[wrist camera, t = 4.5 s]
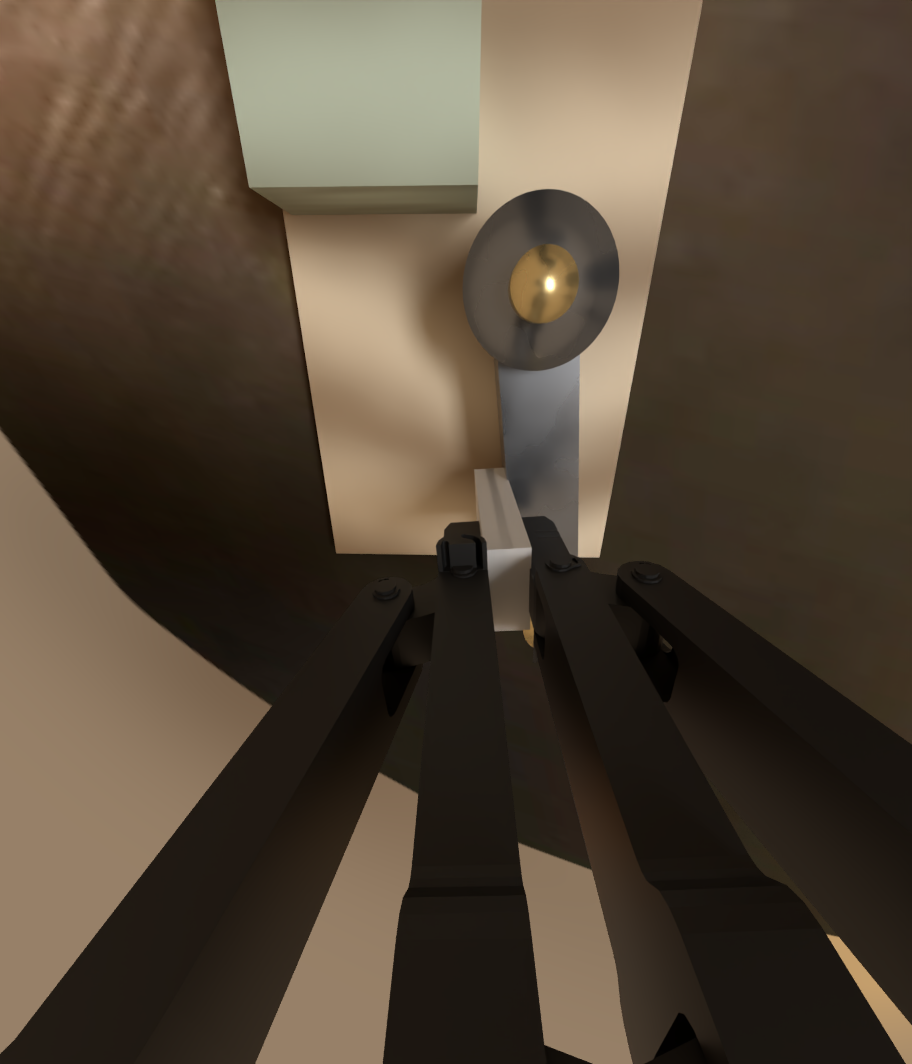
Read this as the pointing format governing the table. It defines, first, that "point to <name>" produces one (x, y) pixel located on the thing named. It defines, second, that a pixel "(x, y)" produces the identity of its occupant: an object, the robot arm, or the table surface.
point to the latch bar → (541, 338)
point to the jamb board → (448, 218)
